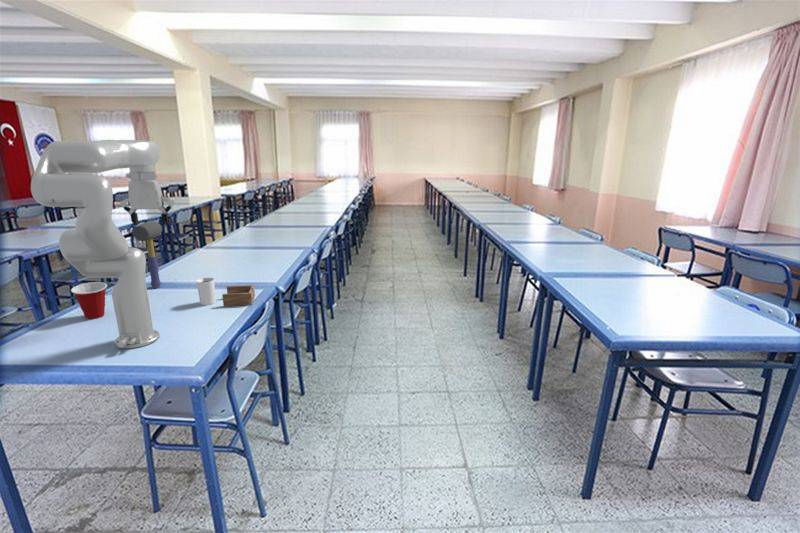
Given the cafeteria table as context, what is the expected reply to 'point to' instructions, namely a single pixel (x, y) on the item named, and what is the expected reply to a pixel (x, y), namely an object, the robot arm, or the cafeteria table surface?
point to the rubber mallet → (150, 247)
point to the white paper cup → (206, 291)
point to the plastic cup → (91, 298)
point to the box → (239, 295)
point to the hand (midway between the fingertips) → (150, 224)
